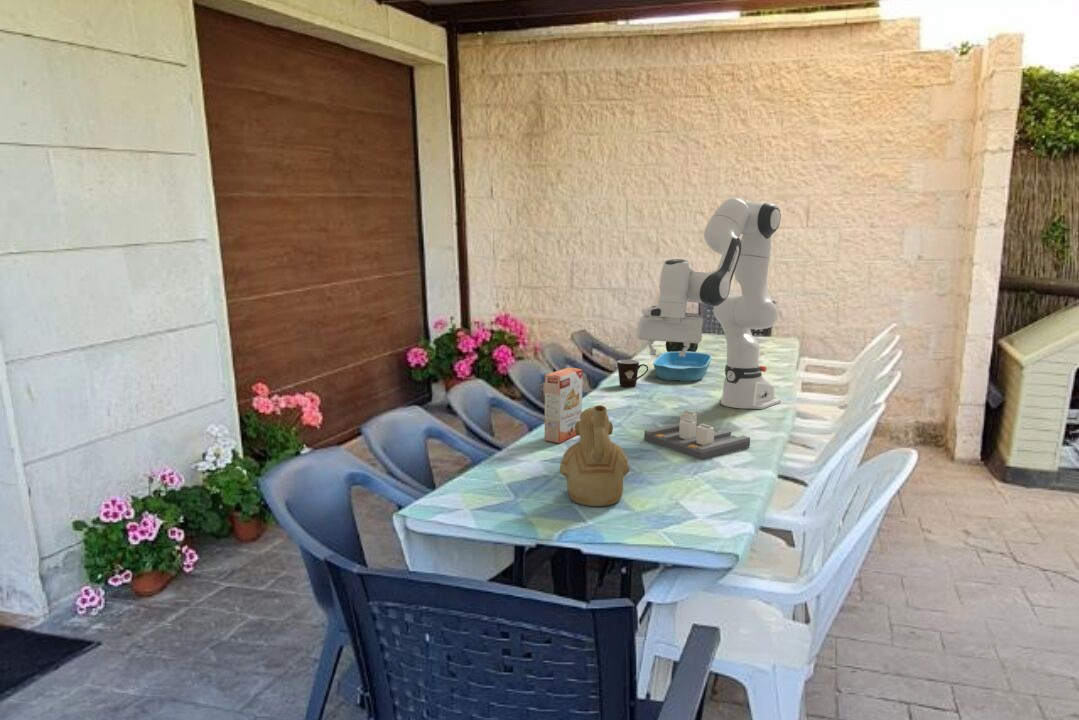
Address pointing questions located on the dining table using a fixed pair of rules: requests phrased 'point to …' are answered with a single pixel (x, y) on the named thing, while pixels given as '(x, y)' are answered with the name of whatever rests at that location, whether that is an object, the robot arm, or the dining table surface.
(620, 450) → the ceramic vessel
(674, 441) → the switch board
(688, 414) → the tab
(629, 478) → the dining table surface
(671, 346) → the squash
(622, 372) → the coffee mug
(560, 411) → the cracker box
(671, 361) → the casserole dish
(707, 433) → the tab
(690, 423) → the white rectangular block
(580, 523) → the dining table surface
